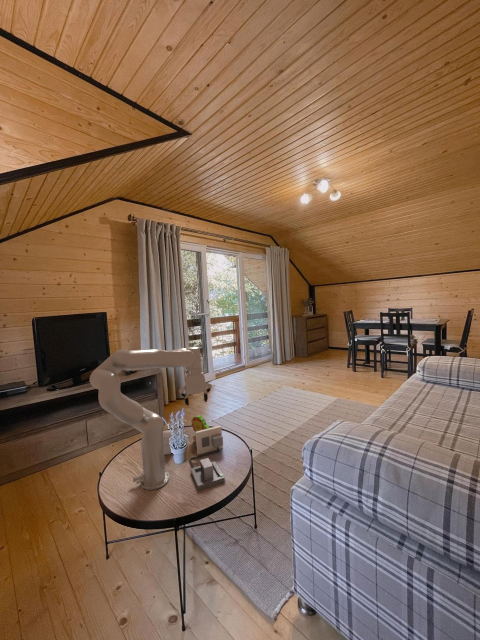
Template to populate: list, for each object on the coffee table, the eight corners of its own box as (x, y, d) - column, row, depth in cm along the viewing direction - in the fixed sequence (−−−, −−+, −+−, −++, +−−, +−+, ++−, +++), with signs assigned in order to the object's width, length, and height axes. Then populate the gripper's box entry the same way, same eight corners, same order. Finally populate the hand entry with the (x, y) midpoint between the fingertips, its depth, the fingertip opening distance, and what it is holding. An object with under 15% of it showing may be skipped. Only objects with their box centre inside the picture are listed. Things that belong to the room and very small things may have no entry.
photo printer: (176, 449, 149) (174, 428, 149) (175, 453, 145) (173, 431, 144) (156, 452, 148) (155, 430, 147) (155, 456, 144) (153, 434, 143)
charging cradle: (198, 490, 115) (198, 485, 115) (190, 472, 128) (190, 468, 128) (224, 481, 120) (224, 476, 120) (214, 465, 133) (214, 460, 132)
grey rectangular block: (204, 481, 120) (203, 468, 119) (200, 472, 126) (199, 460, 126) (213, 478, 121) (212, 465, 121) (209, 469, 128) (208, 457, 127)
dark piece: (194, 471, 128) (193, 464, 128) (188, 459, 139) (188, 452, 139) (225, 461, 135) (225, 454, 135) (218, 450, 145) (218, 444, 145)
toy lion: (215, 444, 153) (214, 418, 152) (208, 448, 149) (206, 421, 148) (197, 436, 163) (195, 412, 162) (190, 440, 159) (188, 415, 158)
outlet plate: (200, 458, 139) (198, 436, 138) (197, 453, 144) (195, 431, 143) (225, 451, 145) (223, 429, 144) (221, 446, 150) (220, 425, 149)
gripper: (179, 375, 132) (181, 409, 133) (212, 369, 139) (214, 402, 140) (176, 371, 139) (178, 404, 140) (208, 366, 146) (210, 397, 147)
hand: (196, 403), depth 140 cm, fingers open, 9 cm apart
